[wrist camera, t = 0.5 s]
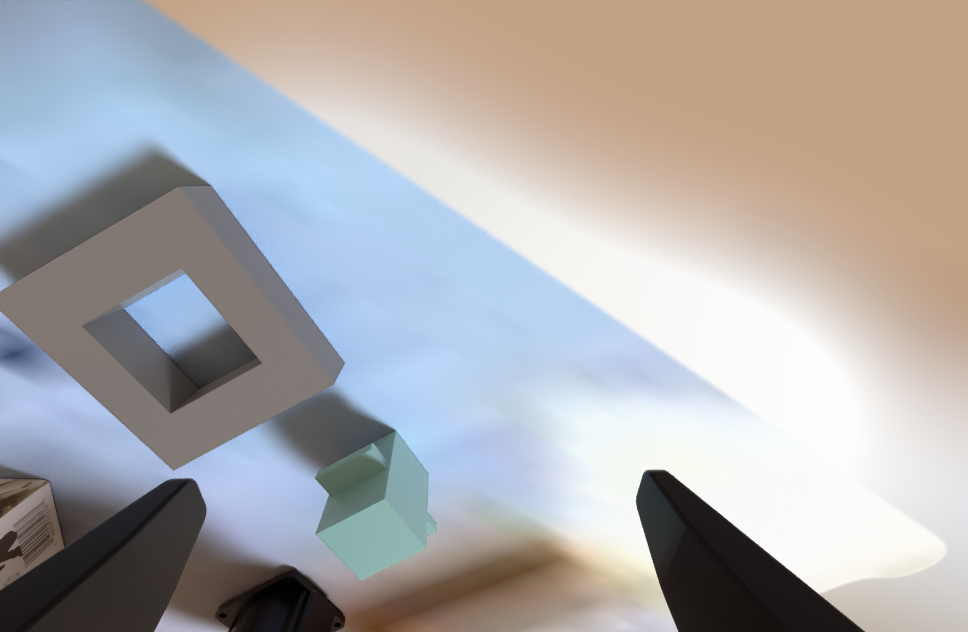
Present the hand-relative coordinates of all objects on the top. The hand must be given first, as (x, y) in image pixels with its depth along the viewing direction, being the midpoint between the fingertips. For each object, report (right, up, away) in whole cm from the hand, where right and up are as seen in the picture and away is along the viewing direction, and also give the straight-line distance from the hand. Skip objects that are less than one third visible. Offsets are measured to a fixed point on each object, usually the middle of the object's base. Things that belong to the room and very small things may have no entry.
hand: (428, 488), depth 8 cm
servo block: (-5, -6, +17) cm, 19 cm away
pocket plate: (-14, +3, +13) cm, 19 cm away
